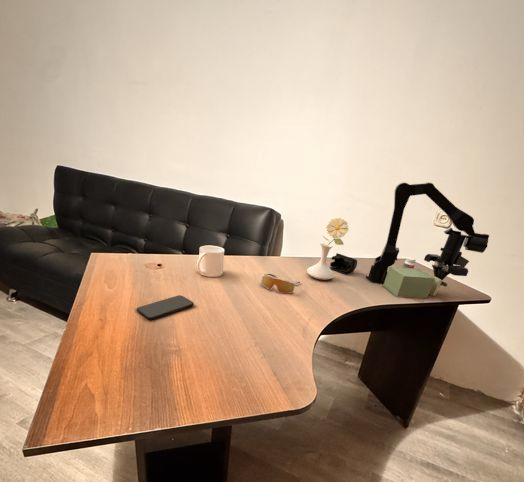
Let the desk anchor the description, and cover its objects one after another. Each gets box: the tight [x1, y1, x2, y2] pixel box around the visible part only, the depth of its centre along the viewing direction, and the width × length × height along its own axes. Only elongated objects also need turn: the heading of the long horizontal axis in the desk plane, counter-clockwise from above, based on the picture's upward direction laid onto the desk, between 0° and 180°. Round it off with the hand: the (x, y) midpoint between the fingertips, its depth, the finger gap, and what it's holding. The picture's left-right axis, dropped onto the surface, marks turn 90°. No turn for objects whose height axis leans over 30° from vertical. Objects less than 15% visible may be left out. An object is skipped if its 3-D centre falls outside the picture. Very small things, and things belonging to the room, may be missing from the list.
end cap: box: [329, 252, 358, 276], centre depth 138 cm, size 10×7×7 cm
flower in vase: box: [306, 217, 349, 281], centre depth 121 cm, size 13×11×25 cm
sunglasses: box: [261, 273, 302, 294], centre depth 113 cm, size 14×15×5 cm
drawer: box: [424, 271, 448, 297], centre depth 125 cm, size 17×9×7 cm, turn 100°
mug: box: [195, 245, 225, 278], centre depth 113 cm, size 12×9×9 cm
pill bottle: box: [401, 256, 417, 269], centre depth 144 cm, size 5×5×8 cm
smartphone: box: [136, 294, 195, 321], centre depth 87 cm, size 7×1×15 cm
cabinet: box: [382, 266, 435, 299], centre depth 123 cm, size 14×11×9 cm
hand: (436, 284), depth 126 cm, fingers closed, pressing on drawer
